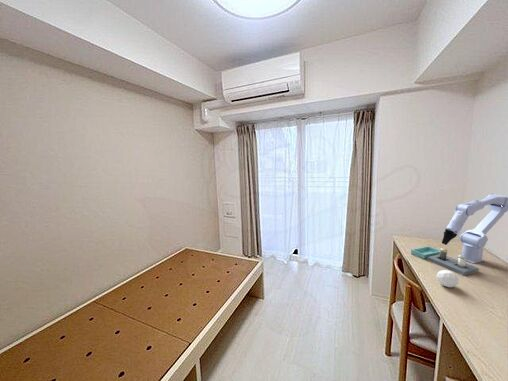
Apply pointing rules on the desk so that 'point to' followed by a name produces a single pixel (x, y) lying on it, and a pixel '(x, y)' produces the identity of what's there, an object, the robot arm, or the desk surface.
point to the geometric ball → (447, 278)
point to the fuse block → (452, 265)
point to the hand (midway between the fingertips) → (444, 243)
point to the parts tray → (425, 252)
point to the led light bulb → (443, 254)
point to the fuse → (461, 261)
